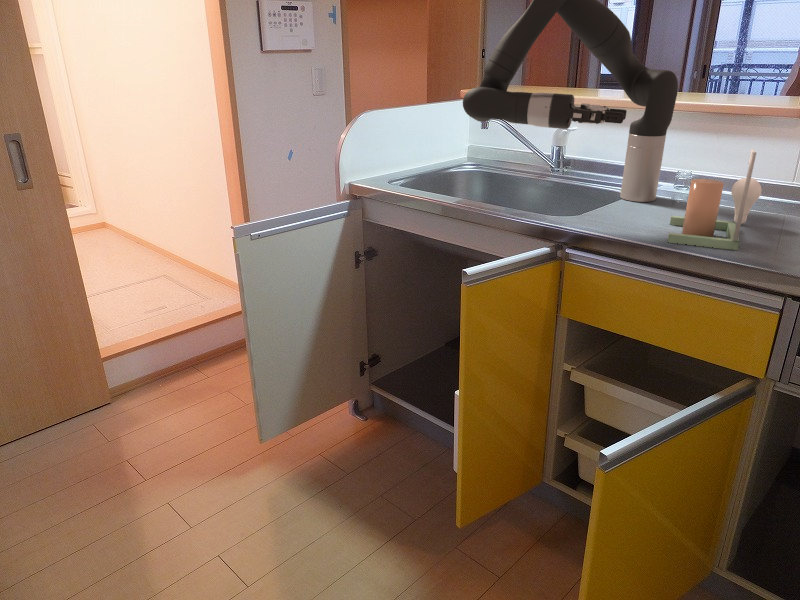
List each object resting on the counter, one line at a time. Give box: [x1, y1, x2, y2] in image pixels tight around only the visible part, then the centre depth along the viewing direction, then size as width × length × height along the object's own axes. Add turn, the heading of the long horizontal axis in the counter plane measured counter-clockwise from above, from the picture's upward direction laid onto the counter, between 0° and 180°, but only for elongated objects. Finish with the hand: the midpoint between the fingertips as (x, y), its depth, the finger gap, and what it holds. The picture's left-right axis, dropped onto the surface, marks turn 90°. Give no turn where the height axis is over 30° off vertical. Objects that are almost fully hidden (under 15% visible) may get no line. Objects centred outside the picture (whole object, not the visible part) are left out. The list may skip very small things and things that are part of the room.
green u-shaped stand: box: [667, 148, 757, 251], centre depth 135 cm, size 17×14×20 cm
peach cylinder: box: [681, 178, 725, 237], centre depth 137 cm, size 6×6×12 cm
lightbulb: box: [730, 177, 762, 225], centre depth 146 cm, size 6×6×11 cm
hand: (624, 116), depth 137 cm, fingers open, 8 cm apart
